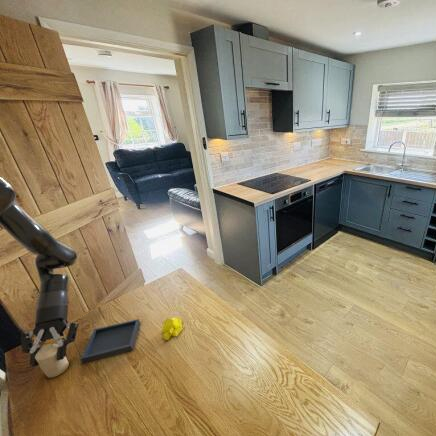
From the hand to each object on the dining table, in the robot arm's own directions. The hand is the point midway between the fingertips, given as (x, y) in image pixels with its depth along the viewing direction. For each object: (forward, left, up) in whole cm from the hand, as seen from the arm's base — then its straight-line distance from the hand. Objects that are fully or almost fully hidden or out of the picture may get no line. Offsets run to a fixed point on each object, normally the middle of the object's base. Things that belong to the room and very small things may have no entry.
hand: (48, 362), depth 74 cm
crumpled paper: (+34, +6, -6) cm, 35 cm away
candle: (0, +2, -6) cm, 6 cm away
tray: (+14, +8, -6) cm, 17 cm away
